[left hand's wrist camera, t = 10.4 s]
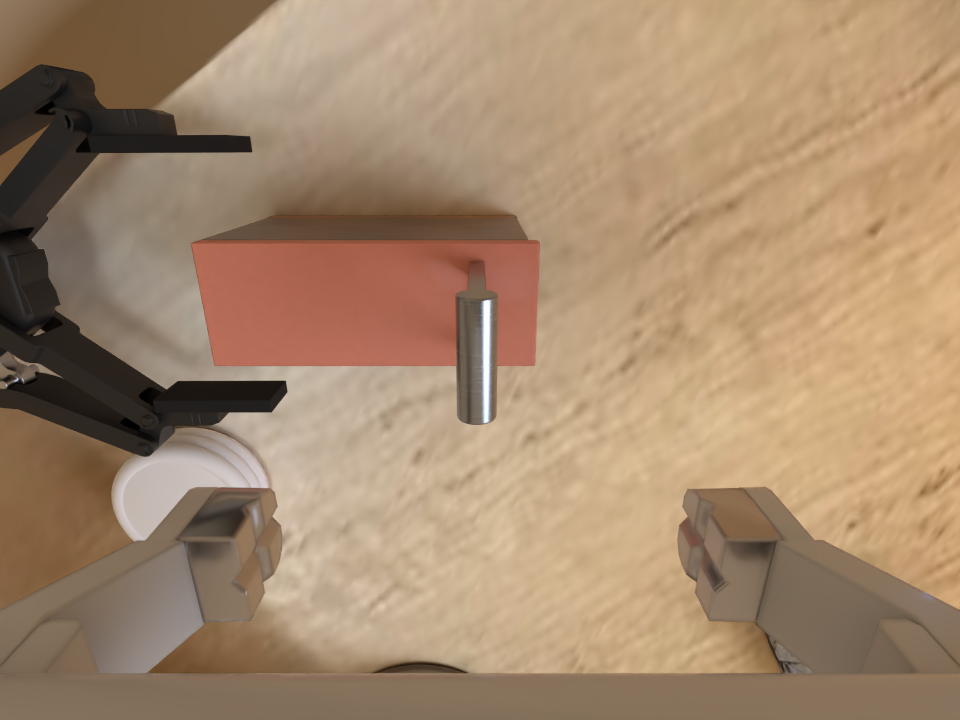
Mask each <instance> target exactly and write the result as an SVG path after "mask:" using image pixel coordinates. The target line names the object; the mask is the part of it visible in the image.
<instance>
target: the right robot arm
mask: <svg viewBox="0 0 960 720" xmlns="http://www.w3.org/2000/svg"><path fill="white" fill-rule="evenodd" d="M94 92H95V84H94V82H93V80H92V79H91V78H90V76H89V75H87V74H85V73H83V72H79V71H74V70H69V69H64V68H59V67H53V66H48V65H42V64H41V65H38V66H36V67H34V68H33V69H31V70H30V71H29V72H27V73H25V74H24V75H22V76H21V77H19V78H18V79H16V80H15V81H14V82H12V83H11V84H9V85H7V86H6V87H5V88H3V89H1V90H0V155H2V154H4V153H5V152H7V151H8V150H10V149H11V148H13V147H14V146H16V145H18V144H19V143H21V142H22V141H24V140H25V139H27V138H28V137H30V136H32V135H33V134H35V133H36V132H38V131H39V130H41V129H43V128H44V127H46V126H47V125H49V124H50V123H51V124H50V125H49V126H48V128H47V129H46V130H45V131H44V132H43V134H42V135H41V136H40V137H39V139H38V140H37V141H36V142H35V144H34V145H33V146H32V147H31V149H30V150H29V151H28V152H27V153H26V155H25V156H24V157H23V158H22V160H21V161H20V162H19V163H18V165H17V166H16V167H15V168H14V169H13V171H12V172H11V173H10V174H9V176H8V177H7V178H6V179H5V181H4V182H3V183H2V184H1V186H0V408H11V409H19V410H22V411H25V412H27V413H30V414H32V415H35V416H38V417H40V418H43V419H45V420H48V421H51V422H53V423H56V424H58V425H61V426H64V427H66V428H69V429H71V430H74V431H77V432H79V433H82V434H84V435H87V436H90V437H92V438H95V439H97V440H100V441H103V442H105V443H108V444H110V445H113V446H116V447H118V448H121V449H123V450H126V451H129V452H131V453H134V454H136V455H139V456H142V457H149V456H150V455H152V454H153V453H154V452H155V451H156V450H157V449H158V448H159V447H160V446H162V445H163V444H164V443H165V442H166V441H167V440H168V439H169V438H170V437H171V436H172V435H173V434H174V433H175V427H174V426H194V425H195V426H198V425H214V424H216V423H219V422H220V421H221V420H222V419H223V418H224V417H225V416H226V415H227V414H228V413H229V412H272V411H273V410H274V408H275V407H276V406H277V405H278V403H279V402H280V401H281V400H282V398H283V397H284V396H285V395H286V393H287V386H286V381H177V382H176V383H175V384H174V385H172V386H171V387H170V388H168V389H167V390H166V389H165V388H163V387H162V386H160V385H159V384H157V383H155V382H154V381H152V380H151V379H149V378H148V377H146V376H145V375H143V374H142V373H140V372H139V371H137V370H136V369H134V368H132V367H131V366H129V365H128V364H126V363H125V362H123V361H122V360H120V359H119V358H117V357H116V356H114V355H112V354H111V353H109V352H108V351H106V350H105V349H103V348H102V347H100V346H99V345H97V344H96V343H94V342H92V341H91V340H89V339H88V338H86V337H85V336H83V335H82V334H81V333H80V328H79V326H77V325H76V324H75V323H73V322H72V321H70V320H69V319H67V318H66V317H64V316H63V315H61V314H60V313H58V312H57V311H55V306H57V305H60V302H59V299H58V296H57V292H56V290H55V288H54V287H53V285H52V283H51V281H50V280H49V277H48V262H47V258H46V255H45V252H44V249H38V248H37V246H36V245H35V244H34V243H33V241H32V240H31V239H32V238H33V237H34V236H35V234H36V233H37V232H38V231H39V230H40V229H41V227H42V226H43V225H44V224H45V223H46V222H47V220H48V217H47V216H46V215H47V213H48V212H49V211H50V210H51V209H52V208H53V206H54V205H55V204H56V203H57V202H58V201H59V199H60V198H61V197H62V196H63V195H64V194H65V192H66V191H67V190H68V189H69V188H70V187H71V185H72V184H73V183H74V182H75V181H76V180H77V178H78V177H79V176H80V175H81V174H82V173H83V171H84V170H85V169H86V168H87V167H88V166H89V164H90V163H91V162H92V161H93V160H94V159H95V157H96V156H97V155H98V154H99V153H212V152H252V147H251V140H250V136H233V135H177V131H176V126H175V121H174V115H171V114H169V113H166V112H164V111H159V110H150V109H106V108H105V107H103V106H102V105H101V104H100V103H99V101H98V100H97V98H96V96H95V94H94ZM40 329H42V330H43V331H45V333H43V334H40V335H38V336H33V335H34V334H35V333H36V332H37V331H39V330H40ZM12 354H13V355H14V356H16V357H18V358H19V359H21V360H23V361H25V362H28V363H39V364H41V365H43V366H45V367H46V368H48V369H50V370H51V371H53V372H54V373H56V374H58V375H59V376H61V377H62V378H60V377H57V376H54V375H50V374H46V373H39V368H38V367H37V366H36V365H30V366H27V365H24V364H21V363H19V362H18V361H17V360H15V358H14V357H13V355H12ZM63 378H64V379H63ZM65 379H66V380H65ZM378 673H463V672H460V671H457V670H454V669H451V668H447V667H442V666H436V665H422V664H418V665H405V666H399V667H394V668H390V669H387V670H384V671H381V672H378Z"/></svg>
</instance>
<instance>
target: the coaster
mask: <svg viewBox="0 0 960 720" xmlns="http://www.w3.org/2000/svg"><path fill="white" fill-rule="evenodd" d="M195 487H219V488H221V487H237V488H269V485H268V480H267V477H266V475H265V472H264V470H263V468H262V466H261V464H260V463H259V462H258V460H257V459H256V458H255V456H254V455H253V454H252V453H251V452H250V451H249V450H248V449H247V448H245V447H244V446H243V445H242V444H240V443H239V442H237V441H236V440H234V439H232V438H230V437H228V436H226V435H224V434H222V433H219V432H216V431H212V430H208V429H203V428H193V427H190V428H178V429H175V433H174V434H173V435H172V436H171V437H170V438H169V439H168V440H167V441H166V442H165V443H164V444H163V445H162V446H160V447H159V448H158V449H157V450H156V451H155V452H154V453H153V454H152V455H150V456H149V457H142V456H139V455H136V454H134V455H132V456H131V457H130V458H128V459H127V460H126V461H125V462H124V464H123V465H122V466H121V467H120V469H119V471H118V472H117V474H116V476H115V479H114V482H113V484H112V491H111V500H112V506H113V510H114V513H115V516H116V518H117V520H118V522H119V524H120V525H121V526H122V528H123V529H124V531H125V532H126V533H127V534H128V536H129V537H130V538H131V539H132V540H133V541H134V542H135V541H137V540H146V539H147V538H148V537H149V535H150V534H151V533H152V532H153V531H154V530H155V529H156V527H157V526H158V525H159V524H160V523H161V522H162V520H163V519H164V518H165V517H166V516H167V515H168V513H169V512H170V511H171V510H172V509H173V508H174V507H175V505H176V504H177V503H178V502H179V501H180V500H181V498H182V497H183V496H184V495H185V494H186V493H187V492H188V490H189V489H192V488H195Z"/></svg>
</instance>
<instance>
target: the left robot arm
mask: <svg viewBox="0 0 960 720" xmlns="http://www.w3.org/2000/svg"><path fill="white" fill-rule="evenodd" d="M277 507H278V506H277V501H276V496H275V492H274V491H273V490H272V489H271V488H237V487H221V488H219V487H195V488H192V489H189V490H188V492H187V493H186V494H185V495H184V496H183V497H182V498H181V500H180V501H179V502H178V503H177V504H176V505H175V507H174V508H173V509H172V510H171V511H170V512H169V513H168V515H167V516H166V517H165V518H164V519H163V520H162V522H161V523H160V524H159V525H158V526H157V527H156V529H155V530H154V531H153V532H152V533H151V534H150V535H149V537H148V538H147V539H146V540H137V541H135V542H133V543H131V544H129V545H127V546H125V547H123V548H121V549H119V550H117V551H115V552H113V553H111V554H109V555H107V556H105V557H103V558H101V559H99V560H97V561H95V562H93V563H91V564H89V565H88V566H86V567H84V568H82V569H80V570H78V571H76V572H74V573H72V574H70V575H68V576H66V577H64V578H62V579H60V580H58V581H56V582H54V583H52V584H50V585H48V586H46V587H44V588H42V589H40V590H38V591H36V592H34V593H32V594H30V595H28V596H26V597H24V598H23V599H21V600H19V601H17V602H15V603H13V604H11V605H9V606H7V607H5V608H3V609H1V610H0V720H960V610H959V609H957V608H955V607H953V606H951V605H949V604H947V603H945V602H943V601H941V600H939V599H937V598H935V597H933V596H931V595H929V594H927V593H925V592H923V591H921V590H919V589H918V588H916V587H914V586H912V585H910V584H908V583H906V582H904V581H902V580H900V579H898V578H896V577H894V576H892V575H890V574H888V573H886V572H884V571H882V570H880V569H878V568H876V567H874V566H872V565H870V564H868V563H866V562H864V561H863V560H861V559H859V558H857V557H855V556H853V555H851V554H849V553H847V552H845V551H843V550H841V549H839V548H837V547H835V546H833V545H831V544H829V543H827V542H825V541H823V540H814V539H813V538H812V537H811V535H810V534H809V533H808V532H807V531H806V530H805V529H804V527H803V526H802V525H801V524H800V523H799V522H798V520H797V519H796V518H795V517H794V516H793V515H792V514H791V512H790V511H789V510H788V509H787V508H786V507H785V505H784V504H783V503H782V502H781V501H780V500H779V499H778V497H777V496H776V495H775V494H774V493H773V492H772V490H770V489H768V488H766V487H741V488H713V489H687V491H686V493H685V495H684V500H683V506H682V507H683V509H684V510H685V512H686V514H687V516H688V517H687V518H686V519H685V520H684V521H683V522H682V523H681V524H680V525H679V532H678V551H679V557H680V560H681V564H682V566H683V568H684V571H685V573H686V575H688V576H689V577H690V578H692V579H693V580H695V581H696V582H697V584H696V590H695V593H696V595H697V597H698V599H699V601H700V603H701V605H702V607H703V609H704V612H705V614H706V616H707V618H708V620H709V621H730V622H757V623H756V625H757V626H759V627H760V628H761V629H762V630H763V631H765V632H766V633H767V634H768V635H769V636H770V637H772V638H773V639H774V640H775V641H776V642H778V643H779V644H780V645H781V646H782V647H783V648H785V649H786V650H787V651H788V652H789V653H791V654H792V655H793V656H794V657H795V658H796V659H798V660H799V661H800V662H801V663H802V664H803V665H805V666H806V667H807V668H808V669H809V670H811V671H812V672H813V673H147V672H148V671H150V670H151V669H152V668H153V667H154V666H155V665H157V664H158V663H159V662H160V661H161V660H163V659H164V658H165V657H166V656H167V655H168V654H170V653H171V652H172V651H173V650H174V649H176V648H177V647H178V646H179V645H180V644H181V643H183V642H184V641H185V640H186V639H187V638H189V637H190V636H191V635H192V634H193V633H194V632H196V631H197V630H198V629H199V628H200V627H202V626H203V622H229V621H251V620H252V618H253V616H254V614H255V612H256V610H257V608H258V606H259V603H260V601H261V599H262V597H263V595H264V593H265V590H264V585H263V582H264V581H265V580H267V579H268V578H269V577H271V576H272V575H274V573H275V570H276V568H277V566H278V564H279V560H280V556H281V551H282V531H281V525H280V524H279V523H278V522H277V521H276V520H275V519H274V518H273V517H272V516H273V514H274V512H275V510H276V508H277Z"/></svg>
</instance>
